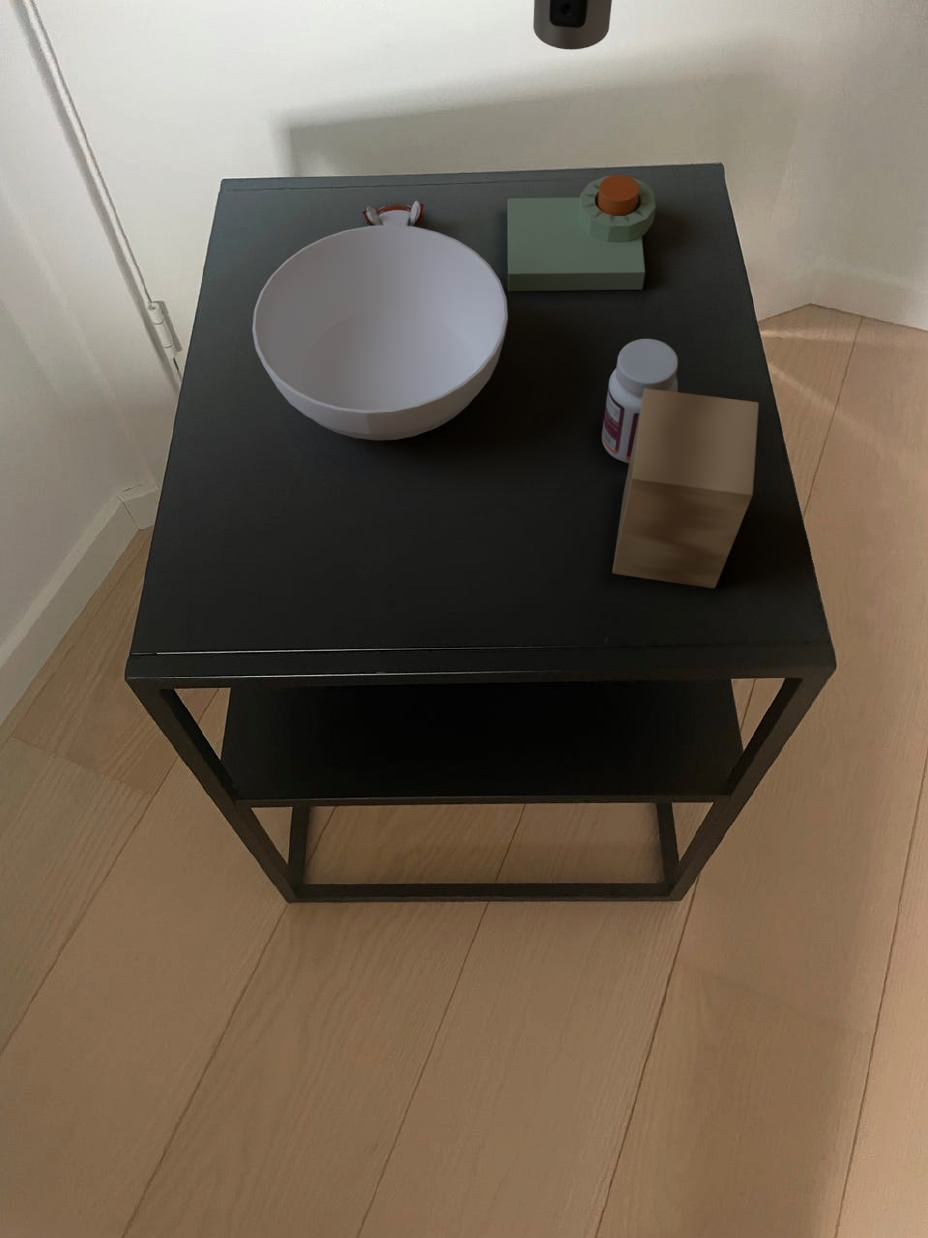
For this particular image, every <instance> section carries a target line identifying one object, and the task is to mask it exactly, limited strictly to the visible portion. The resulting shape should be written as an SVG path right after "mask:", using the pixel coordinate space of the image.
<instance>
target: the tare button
mask: <svg viewBox="0 0 928 1238" xmlns="http://www.w3.org/2000/svg"><path fill="white" fill-rule="evenodd" d="M608 176H609V177H607V178H605V179H604V180H603V181H602V182H601V184H600V188H599V197H598V206H599V208H600V210H601V211H602V212H603V213H606V214H609V215H612V216H626V215H629V214H631V213H632V212H634V210H635V209H636V207H637V202H638V195H639V185H638V183H637V182H636V181H635V180H634V179H635V178H634V177H632V176H629V175H625V174H613V175H608ZM633 178H634V179H633Z"/></svg>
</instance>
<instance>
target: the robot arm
mask: <svg viewBox="0 0 928 1238" xmlns="http://www.w3.org/2000/svg"><path fill="white" fill-rule="evenodd" d="M587 9H588V0H550V11H549V20H550V22H551V24H553V25H554V26H559V27H571V28H580V27H582V26H583V25H584V24H585V21H586V17H587Z"/></svg>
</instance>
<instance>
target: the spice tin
mask: <svg viewBox="0 0 928 1238" xmlns="http://www.w3.org/2000/svg"><path fill="white" fill-rule="evenodd" d="M612 3H613V0H588V9H587V17H586V21H585V24H584V25H583V26H582V27H580V28H571V27H559V26H554V25H553V24H551V22H550V20H549V11H550V0H533V26H532V27H533V32H534V34H535V35H536V37H537V38H538V39H539V40H540V41H541V42H542V43H544V44H546V45H548V46H550V47H552V48H556V49H561V50H571V51H573V50H582V49H586V48H591V47H592V46H595V45H596V44H598V43H600V42H602V41H603V40H604V39H605V38H606V36H607V35H608V33H609V30H610V23H611V13H612Z"/></svg>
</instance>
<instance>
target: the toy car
mask: <svg viewBox="0 0 928 1238" xmlns="http://www.w3.org/2000/svg"><path fill="white" fill-rule="evenodd" d="M424 206H425V204H424V203H420V202H419V201H418V200H415V201H414V203H413V204H412V205H408V204H400V203H394V204H390V205H385V206H382V207H380V208H378V210H375V208H373V206H370V205H367V207H366V210H364V211H362V215H364V218H365V220H366V225H367V226H380V225H399V226H411V227H417V226H418V225H419V223H420V222H421V221H422V220H423V219H424V218H425V216H424Z"/></svg>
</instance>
